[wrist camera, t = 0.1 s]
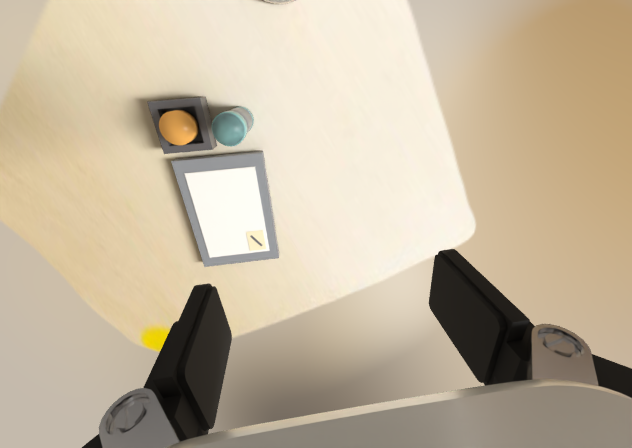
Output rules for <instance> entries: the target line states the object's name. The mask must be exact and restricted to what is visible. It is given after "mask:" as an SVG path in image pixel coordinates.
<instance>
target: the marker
mask: <svg viewBox="0 0 632 448" xmlns="http://www.w3.org/2000/svg"><path fill="white" fill-rule="evenodd" d="M253 123H254V119H253V115H252V113H251V112H250V111H249V110H248V109H247V108H245V107H235V108H233V109H232V110H230V111H225V112H223V113H220V114H218V115H217V116H216V117H215V118H214V120H213V122H212V133H213V135H214V137H215V138H216V140H217V141H218V142H220V143H221V144H223V145H225V146H235V145H238V144H239V143H240V142H241V141H242V140H243V139H244V138H245V136H246V134H247V132H248V131H249V130H250V129H251V128H252V126H253Z"/></svg>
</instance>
